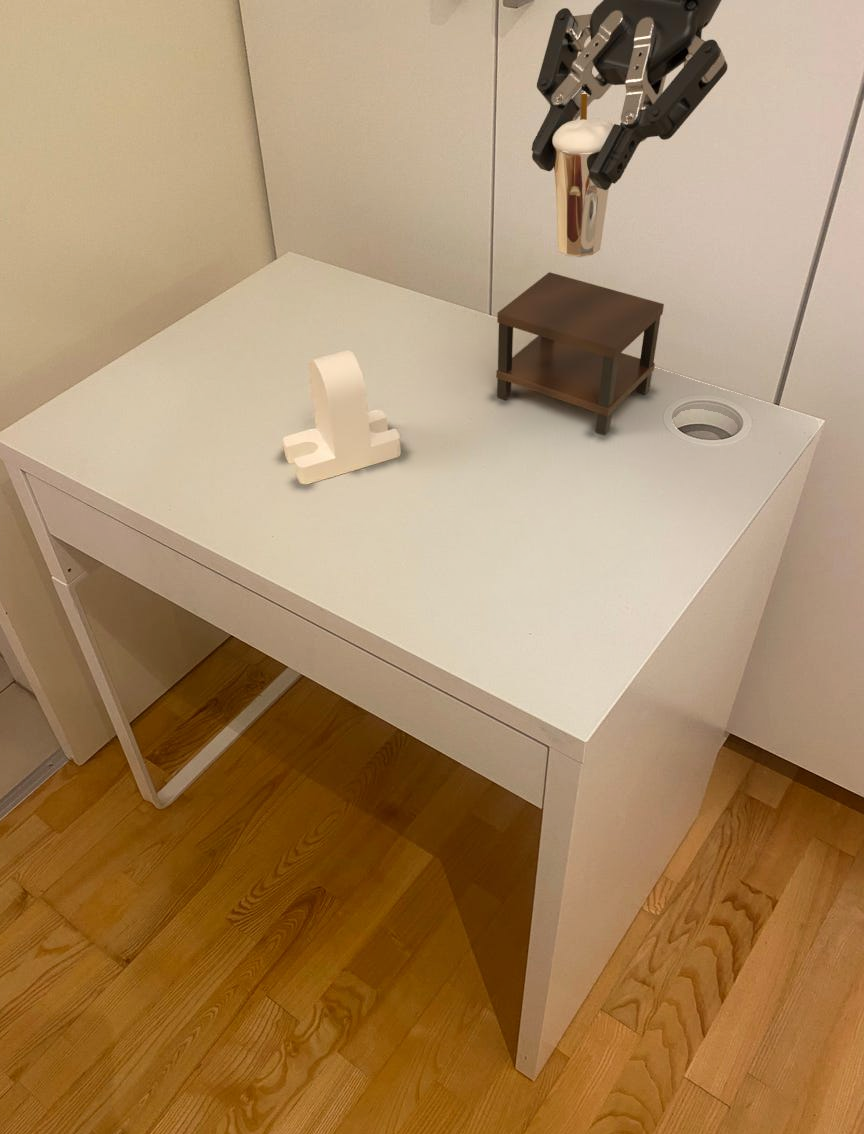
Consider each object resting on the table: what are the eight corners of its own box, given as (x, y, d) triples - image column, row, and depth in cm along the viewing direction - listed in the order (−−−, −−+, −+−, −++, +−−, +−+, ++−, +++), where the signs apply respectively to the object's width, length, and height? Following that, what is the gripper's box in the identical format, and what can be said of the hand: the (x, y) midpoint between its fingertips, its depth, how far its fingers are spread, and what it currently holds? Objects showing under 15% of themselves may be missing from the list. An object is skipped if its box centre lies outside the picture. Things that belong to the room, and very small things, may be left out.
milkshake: (606, 228, 78) (616, 90, 71) (610, 260, 74) (621, 118, 67) (548, 231, 78) (552, 94, 71) (549, 263, 75) (554, 122, 68)
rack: (651, 390, 96) (664, 303, 89) (604, 436, 91) (615, 349, 84) (544, 355, 101) (549, 271, 95) (495, 397, 97) (497, 312, 90)
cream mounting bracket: (403, 455, 91) (397, 358, 84) (301, 485, 89) (286, 389, 82) (381, 426, 94) (374, 330, 87) (283, 454, 92) (267, 359, 85)
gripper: (589, -117, 68) (469, 124, 72) (775, -93, 60) (631, 174, 64) (628, -44, 74) (516, 174, 78) (801, -15, 67) (668, 225, 70)
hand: (569, 173), depth 71 cm, fingers closed on milkshake, 4 cm apart
